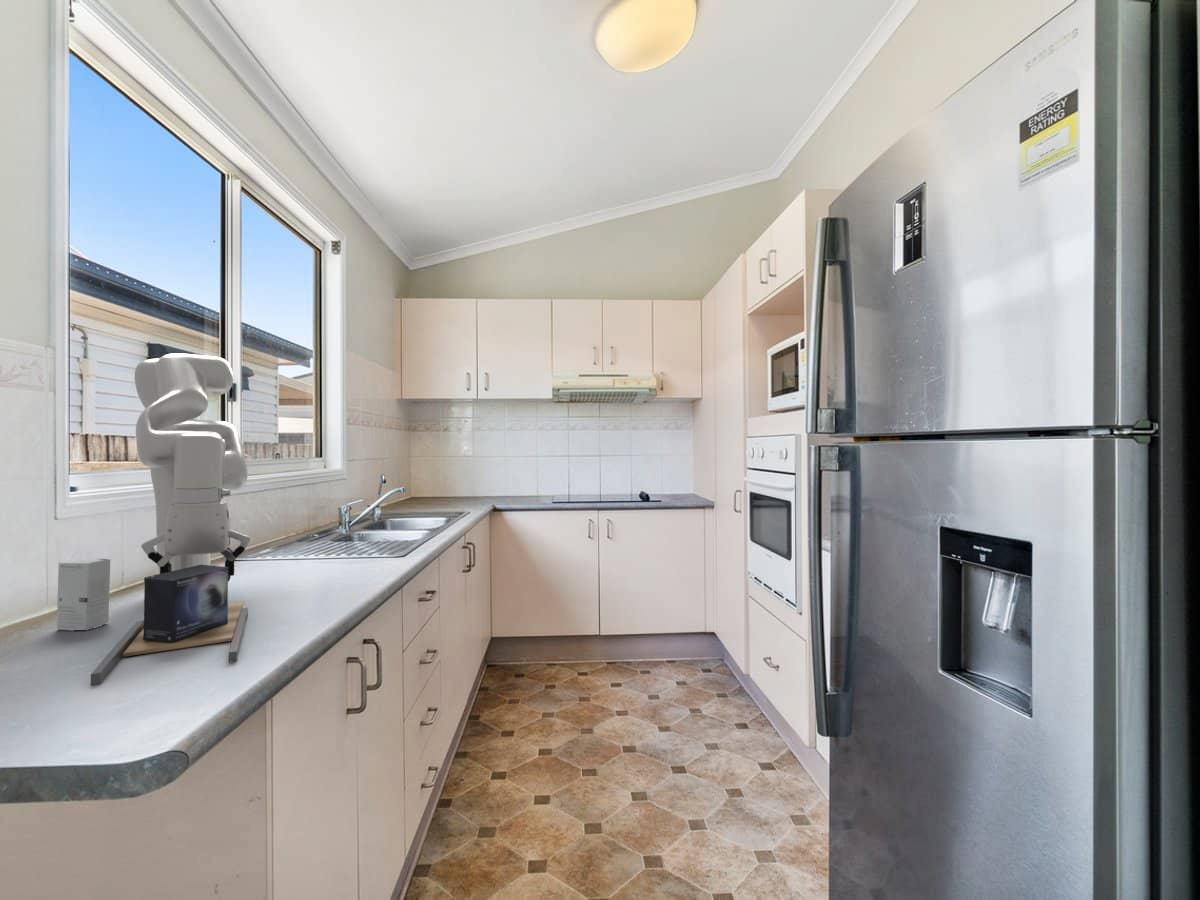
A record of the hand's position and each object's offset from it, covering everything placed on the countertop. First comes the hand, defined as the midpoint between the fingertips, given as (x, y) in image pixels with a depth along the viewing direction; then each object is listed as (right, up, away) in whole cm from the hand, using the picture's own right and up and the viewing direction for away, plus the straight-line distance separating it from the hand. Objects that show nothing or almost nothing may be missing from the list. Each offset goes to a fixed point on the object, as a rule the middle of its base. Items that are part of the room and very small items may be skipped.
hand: (198, 582), depth 107 cm
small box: (+9, -5, -14) cm, 17 cm away
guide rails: (+11, -6, -18) cm, 22 cm away
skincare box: (-14, -6, -9) cm, 18 cm away
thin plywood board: (+6, -6, -10) cm, 13 cm away
